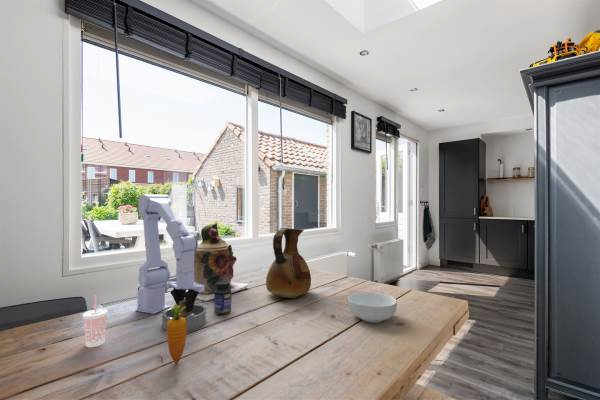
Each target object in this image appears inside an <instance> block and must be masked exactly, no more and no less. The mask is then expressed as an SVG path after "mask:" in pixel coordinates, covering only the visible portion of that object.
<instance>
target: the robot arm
mask: <svg viewBox="0 0 600 400" xmlns="http://www.w3.org/2000/svg"><path fill="white" fill-rule="evenodd" d="M171 206H172V199H171V198H170V196H169V195H168V194H165V193H164V194H146V193H142V194H141V195H140V197H139V198H138V213H139V214H138V215H139V217H141V218H142V222H143V234H144V245H145V246H144V247H145V258H146V261H145V262H144V263H143V264H142V265H141V266H140V267H139V269H138V279H137V280H138V283H139V285H140V287H139V289H138V291H137V294H136V296H137V298H136V301H137V306H136V307H137V308H136V309H135V311H136V312H142V313H145V314H146V313H147V314H152V315H155V314H157V313H159V312H161V311H165V310H167V309H170V308H171V306H170V304H169V305H167V304H166V298H165V297H166V289H172V290H171V291H170V294H171V297H172V298H173V300H174V302H175V304H177V306H179V301H181V300H184V299H185V300H186V311H187V313H189V312H191V311H192V310H193V306H194V304H195V302H196V299H197V298H196V297H197V295H198V294H199V292H203V291H204V285H201V284H198V283H195V282H194V251H196V249H197V247H198V244H199V241H198V238H197V236H196V235H195V234H192V233H190V232H189V231H188V230H187V227H185V225H184V223H183V222H182V220H179V219H177V218H176V216H175V214H174V212H173V210H172V208H171ZM160 217H161V218H162V220H163V221H164V222H165V224H166V226H165V230H166V232H167V233H168V236H169V237H170V238H171V241H172V242H173V243H172V249H173V252H174V258H175V259H176V260H175V261H176V262H175V265H176V267H175V281H174V280H173V281H172V280H170V279H171V272H170V269H169V264H168V263H167V262H166V261H164V260H163V259H162V254H161V244H160V243H161V242H160V233H159V231H160V230H159V221H158V219H160ZM186 290H188V291H187V292H186Z"/></svg>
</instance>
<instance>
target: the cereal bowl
mask: <svg viewBox="0 0 600 400" xmlns="http://www.w3.org/2000/svg"><path fill="white" fill-rule="evenodd" d="M397 303H398V302H397V299H396V298H395V297H393V296H391V295H388V294H384V293H379V292H367V291H366V292H364V291H363V292H356V293H352V294H350V295H348V296H347V306H348V309H349V311H350V312H351V313H352V314H353V315H354V316H355V317H358V318H360V319H361V320H362V321H364V322H367V323H375V324H376V323H382V322H383V321H385V320H388V319H390V318H392V317H393V316H394V315H395V313H396V311H397V309H398V308H397V307H398V304H397Z"/></svg>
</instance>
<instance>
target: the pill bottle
mask: <svg viewBox="0 0 600 400" xmlns="http://www.w3.org/2000/svg"><path fill="white" fill-rule="evenodd" d="M216 287H217V289H216V290H215V291H214V300H213V302H214V303H213V306H214V307H213V309H214V310H213V312H214V314H216V315H220V316H223V315H228V314H230V312H231V311H232V293H231V289H230V288H229V282H228V281H220V282H217V283H216Z"/></svg>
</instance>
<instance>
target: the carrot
mask: <svg viewBox="0 0 600 400" xmlns="http://www.w3.org/2000/svg"><path fill="white" fill-rule="evenodd" d="M172 307H173V308H172ZM172 307H170V308H171V310H172V314H173V316H174V318H172V319H170V320H168V321H167V330H166V339H167V340H166V341H167V347H168V351H169V354H170V357H171V359H172V361H173V363H175V364H178V363H179V362H180V360H181V358H182V356H183V354H184V351H185V346H186V341H187V331H186V330H187V322H186V319H185V318H183V317H180V315H181V312H182V311H183V310H184V309H185V308H186V307H185V306H184V307H183V308H181V310H180V311H179V308H180V306H177V304H176V303H175V304H174V305H173V306H172ZM177 314H178V315H177Z"/></svg>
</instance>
